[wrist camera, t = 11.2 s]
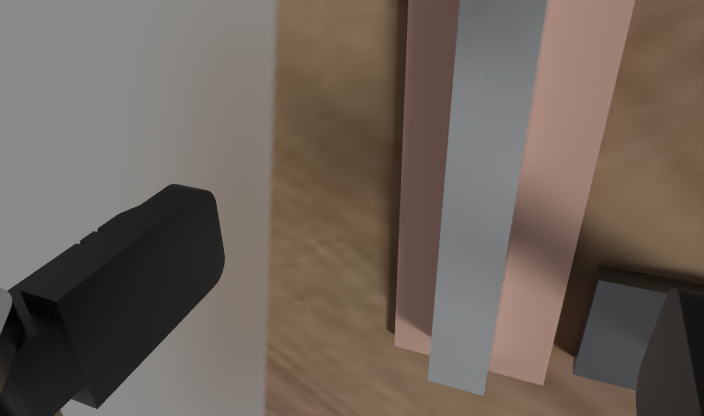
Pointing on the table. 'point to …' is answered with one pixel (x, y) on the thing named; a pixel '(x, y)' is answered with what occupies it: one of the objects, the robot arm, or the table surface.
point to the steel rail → (483, 180)
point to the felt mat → (537, 178)
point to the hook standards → (621, 324)
